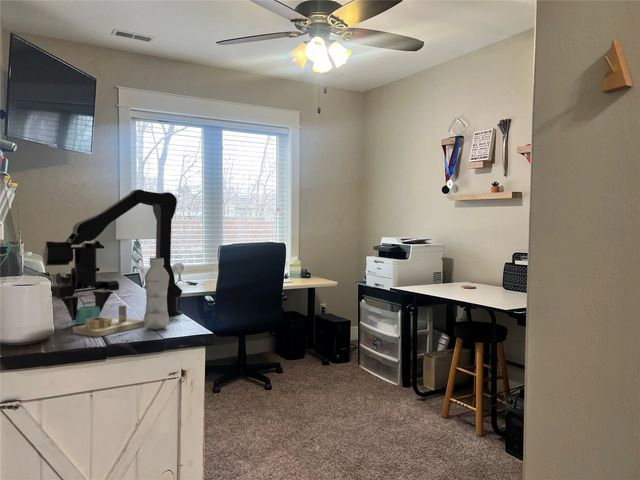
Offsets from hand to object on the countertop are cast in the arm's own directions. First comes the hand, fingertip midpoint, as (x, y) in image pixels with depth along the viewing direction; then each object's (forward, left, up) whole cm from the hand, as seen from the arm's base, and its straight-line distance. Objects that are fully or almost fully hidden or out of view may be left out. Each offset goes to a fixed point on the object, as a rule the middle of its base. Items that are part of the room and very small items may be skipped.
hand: (85, 317), depth 133 cm
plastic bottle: (-6, +22, -2) cm, 23 cm away
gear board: (0, +11, -2) cm, 11 cm away
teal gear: (0, 0, -1) cm, 1 cm away
